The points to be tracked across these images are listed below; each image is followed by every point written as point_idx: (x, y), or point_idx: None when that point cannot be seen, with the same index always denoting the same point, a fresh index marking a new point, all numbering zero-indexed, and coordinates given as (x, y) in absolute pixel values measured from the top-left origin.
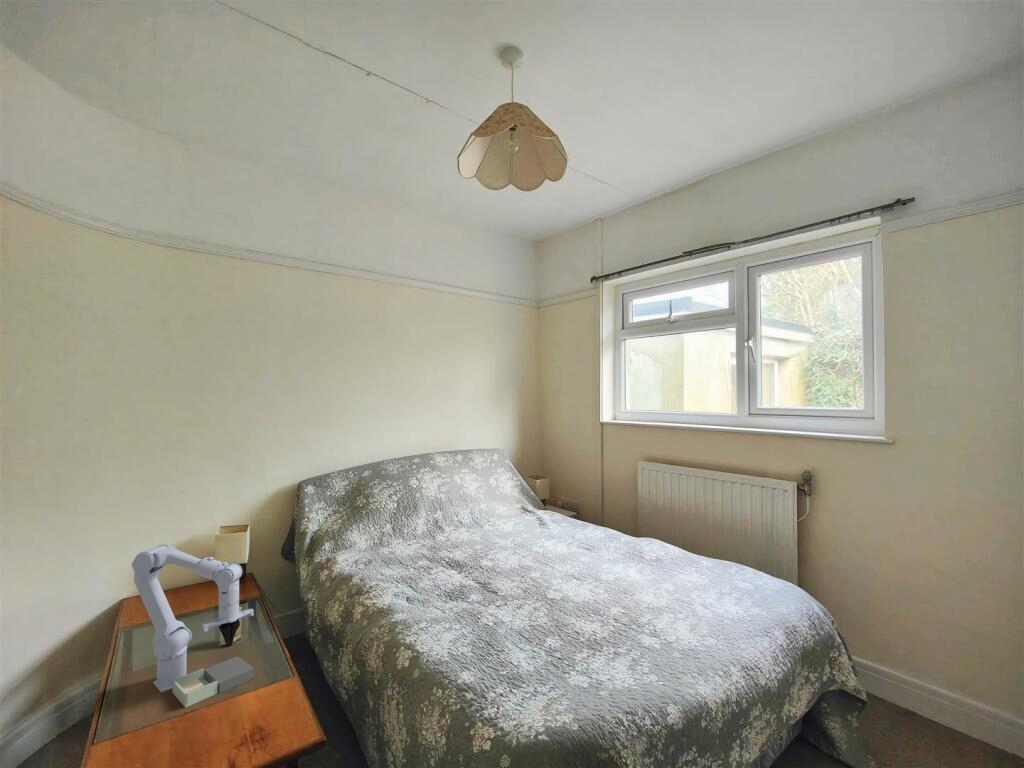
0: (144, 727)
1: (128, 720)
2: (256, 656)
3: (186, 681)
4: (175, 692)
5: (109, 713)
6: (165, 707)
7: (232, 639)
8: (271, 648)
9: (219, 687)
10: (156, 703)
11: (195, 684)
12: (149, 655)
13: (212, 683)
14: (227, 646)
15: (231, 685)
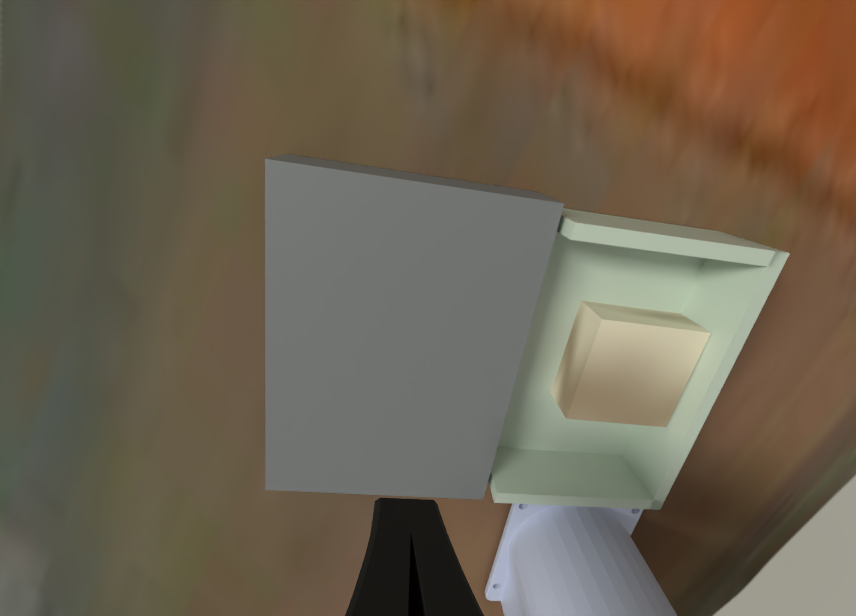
0: None
1: (853, 383)
2: (149, 446)
3: (580, 469)
4: None
5: (810, 506)
6: None
7: (382, 579)
8: (27, 462)
9: (550, 198)
10: (713, 421)
11: (614, 372)
12: None
13: (613, 228)
14: (437, 514)
15: (459, 182)
